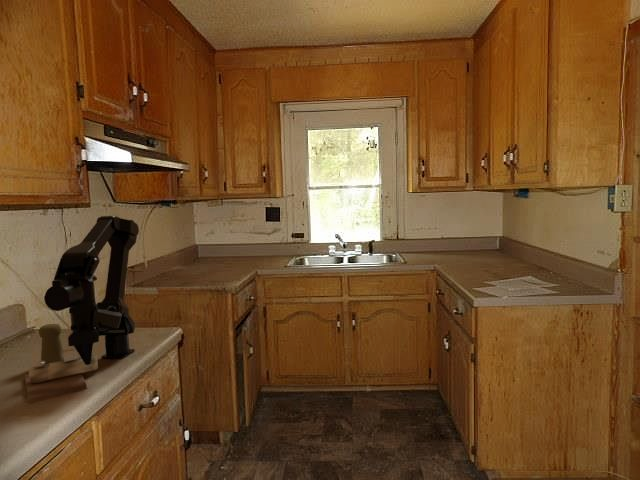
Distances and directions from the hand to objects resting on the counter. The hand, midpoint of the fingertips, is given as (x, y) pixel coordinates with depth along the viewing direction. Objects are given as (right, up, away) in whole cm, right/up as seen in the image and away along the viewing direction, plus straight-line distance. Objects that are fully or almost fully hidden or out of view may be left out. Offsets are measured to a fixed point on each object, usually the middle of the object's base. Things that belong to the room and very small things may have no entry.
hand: (88, 364), depth 115 cm
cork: (-15, -3, +11) cm, 18 cm away
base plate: (-7, -4, -3) cm, 8 cm away
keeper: (-8, -4, 0) cm, 9 cm away
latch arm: (-5, -2, 0) cm, 6 cm away
